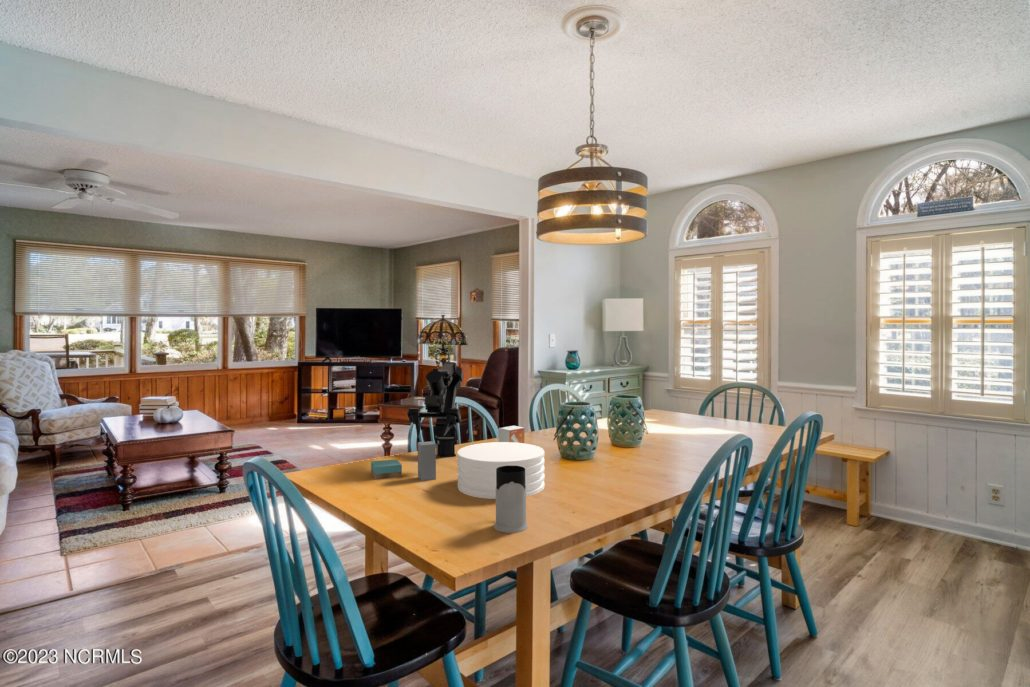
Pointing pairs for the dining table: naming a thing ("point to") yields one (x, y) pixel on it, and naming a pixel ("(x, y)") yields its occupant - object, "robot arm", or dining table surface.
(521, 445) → the plate stack
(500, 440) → the small box
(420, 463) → the grey pillar block
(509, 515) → the glass holder
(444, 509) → the dining table surface
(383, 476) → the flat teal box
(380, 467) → the teal slab
